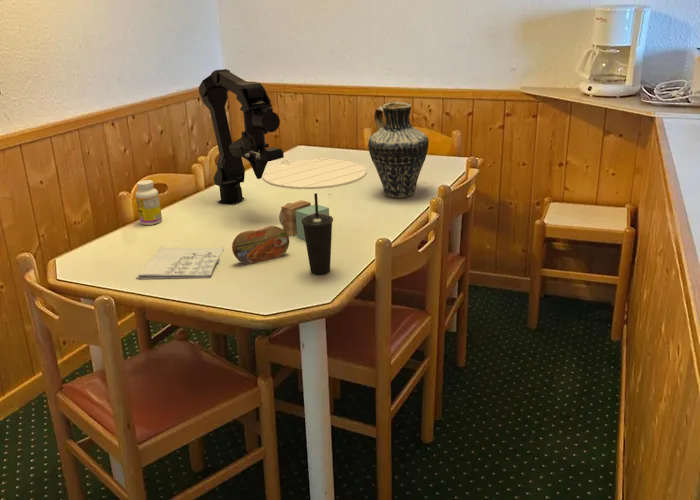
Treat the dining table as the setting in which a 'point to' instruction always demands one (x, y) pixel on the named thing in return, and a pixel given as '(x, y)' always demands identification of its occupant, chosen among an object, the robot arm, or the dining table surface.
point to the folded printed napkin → (182, 263)
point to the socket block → (305, 212)
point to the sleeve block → (292, 216)
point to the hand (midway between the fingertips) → (259, 178)
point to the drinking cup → (318, 240)
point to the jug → (397, 149)
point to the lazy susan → (314, 173)
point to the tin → (260, 244)
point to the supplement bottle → (148, 203)
